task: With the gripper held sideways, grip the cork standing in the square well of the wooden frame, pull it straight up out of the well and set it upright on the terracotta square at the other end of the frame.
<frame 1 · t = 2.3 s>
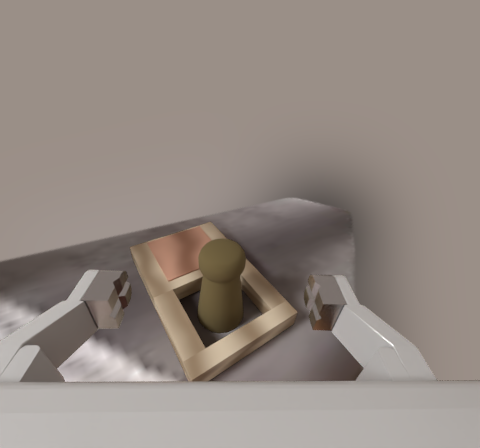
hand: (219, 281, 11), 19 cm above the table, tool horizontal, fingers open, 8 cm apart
wooden frame: (204, 288, 35), on the table
cork: (220, 312, 32), resting in wooden frame
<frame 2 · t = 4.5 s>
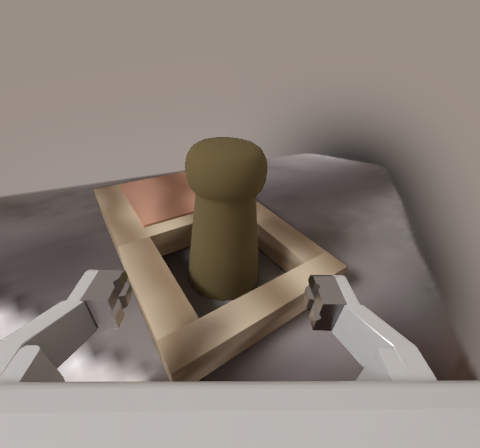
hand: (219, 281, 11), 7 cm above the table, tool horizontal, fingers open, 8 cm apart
wooden frame: (199, 242, 24), on the table
cork: (223, 273, 21), resting in wooden frame
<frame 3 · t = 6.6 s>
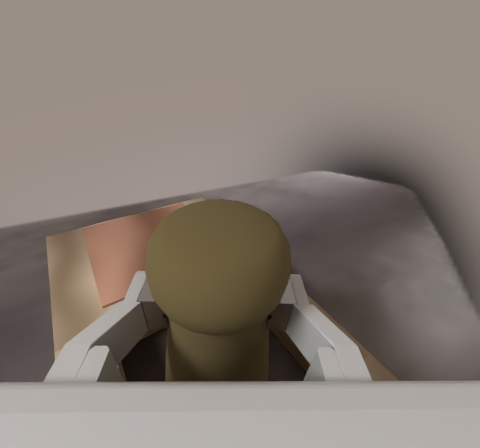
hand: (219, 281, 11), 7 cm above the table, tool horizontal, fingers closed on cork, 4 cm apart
wooden frame: (185, 317, 17), on the table
cork: (217, 376, 14), resting in wooden frame, touching gripper
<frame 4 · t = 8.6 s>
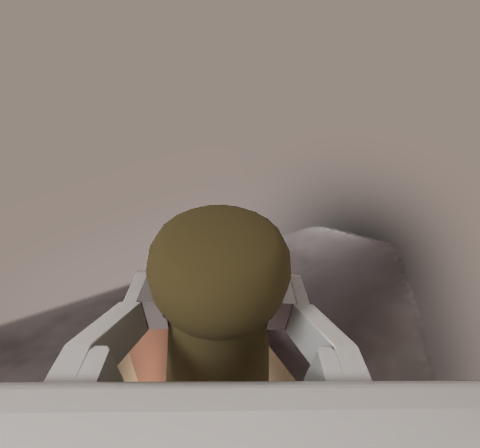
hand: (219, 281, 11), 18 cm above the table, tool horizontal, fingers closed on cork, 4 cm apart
wooden frame: (207, 404, 22), on the table
cork: (218, 378, 15), point 10 cm above the table, touching gripper
when the fingers open (11 cm above the table, at t = 10.9 s): cork stays where it is, resting on wooden frame.
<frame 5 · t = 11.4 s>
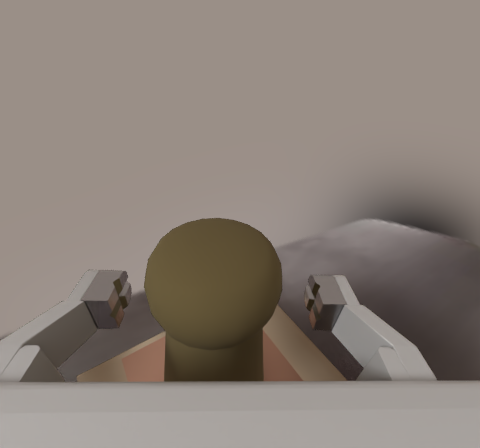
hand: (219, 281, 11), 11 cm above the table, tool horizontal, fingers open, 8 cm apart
cork: (214, 382, 15), point 3 cm above the table, touching wooden frame
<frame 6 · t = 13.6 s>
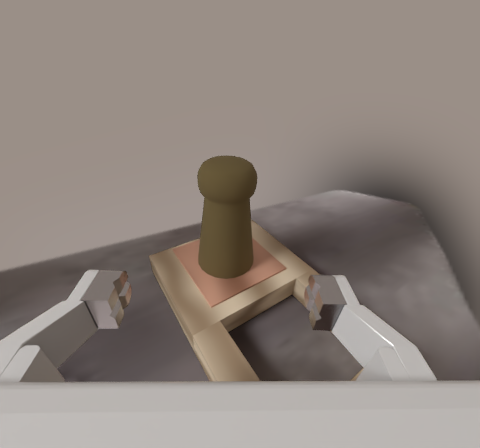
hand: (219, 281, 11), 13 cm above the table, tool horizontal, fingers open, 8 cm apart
wooden frame: (259, 313, 24), on the table
cork: (225, 259, 27), point 3 cm above the table, touching wooden frame
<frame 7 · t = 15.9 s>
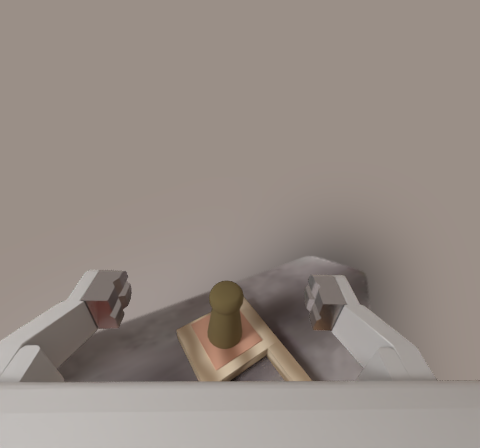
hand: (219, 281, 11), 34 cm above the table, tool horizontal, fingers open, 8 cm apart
wooden frame: (244, 370, 40), on the table
cork: (224, 332, 43), point 3 cm above the table, touching wooden frame
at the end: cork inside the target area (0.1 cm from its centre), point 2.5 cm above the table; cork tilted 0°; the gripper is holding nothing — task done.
